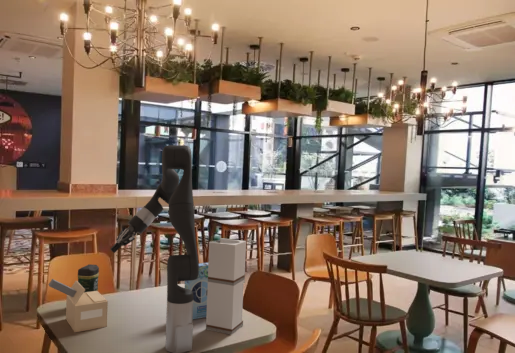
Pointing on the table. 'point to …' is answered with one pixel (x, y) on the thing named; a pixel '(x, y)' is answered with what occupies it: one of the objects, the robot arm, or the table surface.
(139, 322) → the table surface
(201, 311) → the gum box
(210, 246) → the white square pillar
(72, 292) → the flap
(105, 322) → the carton
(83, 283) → the coffee jar
